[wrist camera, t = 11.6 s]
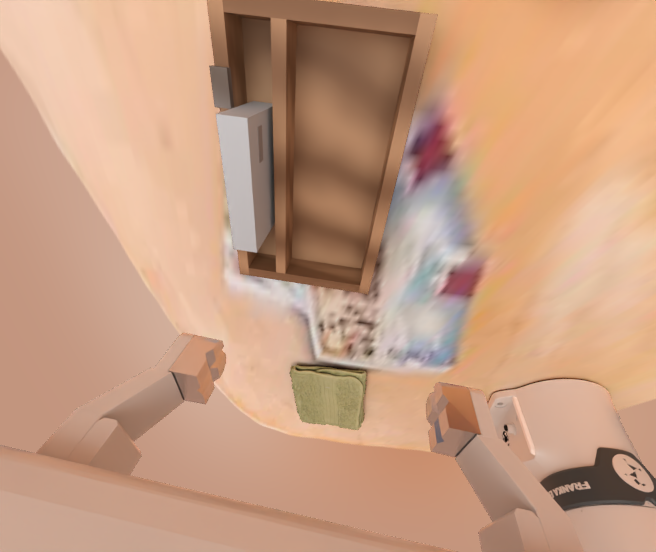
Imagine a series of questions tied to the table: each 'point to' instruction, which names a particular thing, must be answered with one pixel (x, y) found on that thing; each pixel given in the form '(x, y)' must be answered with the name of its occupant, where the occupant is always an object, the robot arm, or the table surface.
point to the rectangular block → (248, 172)
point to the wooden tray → (323, 124)
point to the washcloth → (329, 395)
